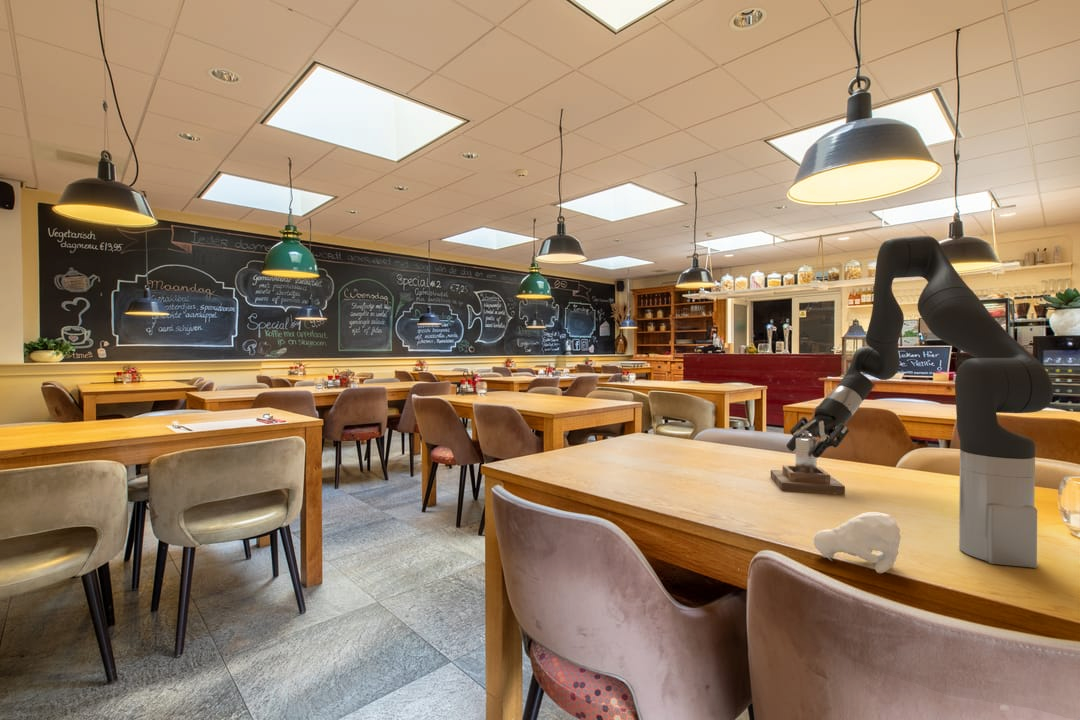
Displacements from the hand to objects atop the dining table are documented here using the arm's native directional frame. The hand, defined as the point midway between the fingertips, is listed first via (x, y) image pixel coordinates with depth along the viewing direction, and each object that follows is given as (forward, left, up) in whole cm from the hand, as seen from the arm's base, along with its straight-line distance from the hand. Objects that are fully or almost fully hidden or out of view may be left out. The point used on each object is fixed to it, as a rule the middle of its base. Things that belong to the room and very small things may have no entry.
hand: (801, 452), depth 126 cm
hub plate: (+1, -1, -9) cm, 9 cm away
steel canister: (+1, -1, -7) cm, 7 cm away
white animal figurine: (-50, +4, -9) cm, 51 cm away
